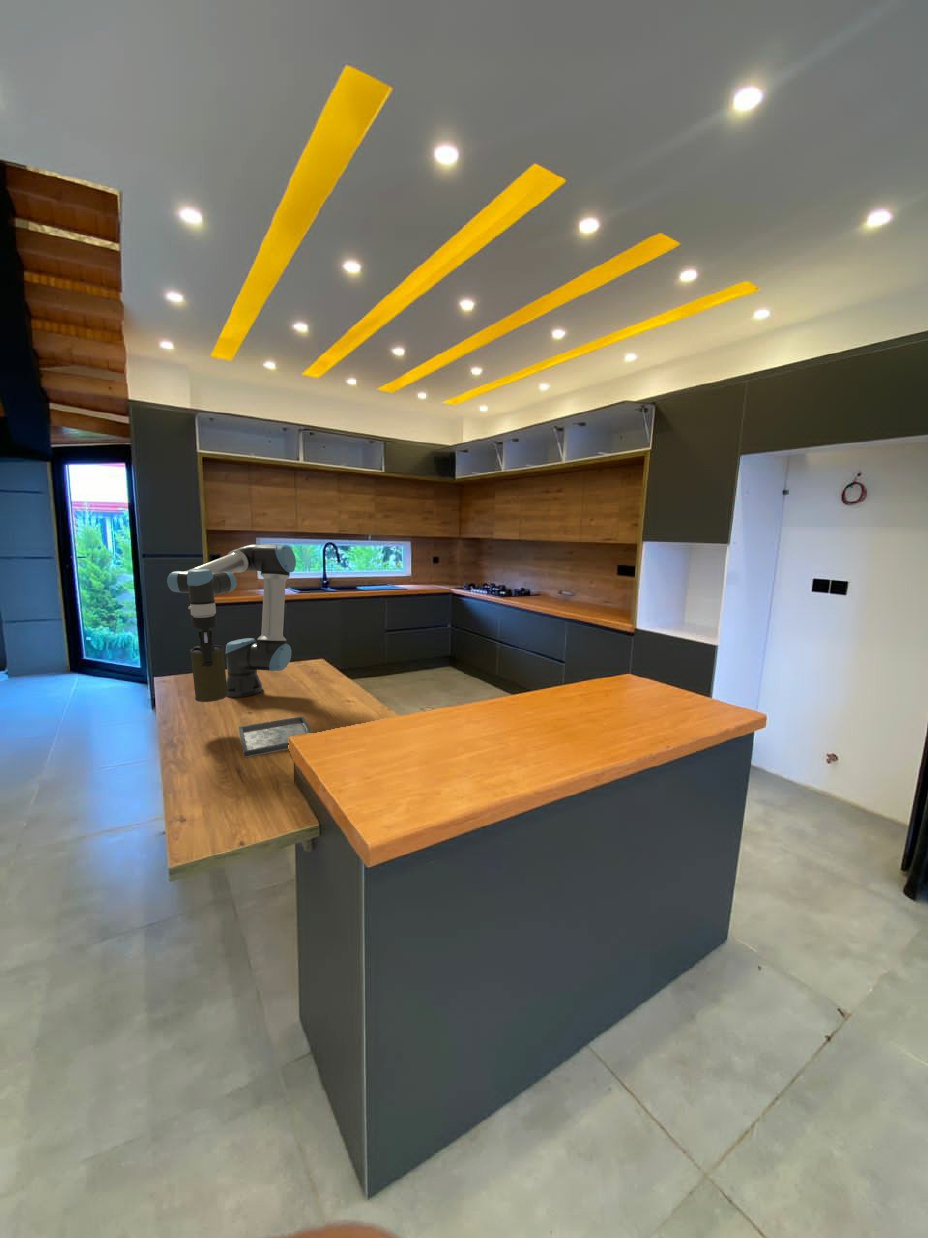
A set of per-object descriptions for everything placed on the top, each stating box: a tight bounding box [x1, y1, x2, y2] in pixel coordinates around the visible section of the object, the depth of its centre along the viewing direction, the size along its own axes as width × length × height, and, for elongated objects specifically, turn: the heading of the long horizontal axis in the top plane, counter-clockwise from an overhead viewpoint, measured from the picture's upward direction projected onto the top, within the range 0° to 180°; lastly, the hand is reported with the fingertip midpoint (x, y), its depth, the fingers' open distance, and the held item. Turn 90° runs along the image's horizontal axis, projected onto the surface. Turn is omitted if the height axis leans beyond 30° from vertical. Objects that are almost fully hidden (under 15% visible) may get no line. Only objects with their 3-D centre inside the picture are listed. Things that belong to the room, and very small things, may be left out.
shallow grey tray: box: [238, 715, 314, 758], centre depth 166 cm, size 22×22×2 cm
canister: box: [189, 640, 229, 703], centre depth 167 cm, size 11×10×20 cm
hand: (209, 680), depth 168 cm, fingers open, 6 cm apart
